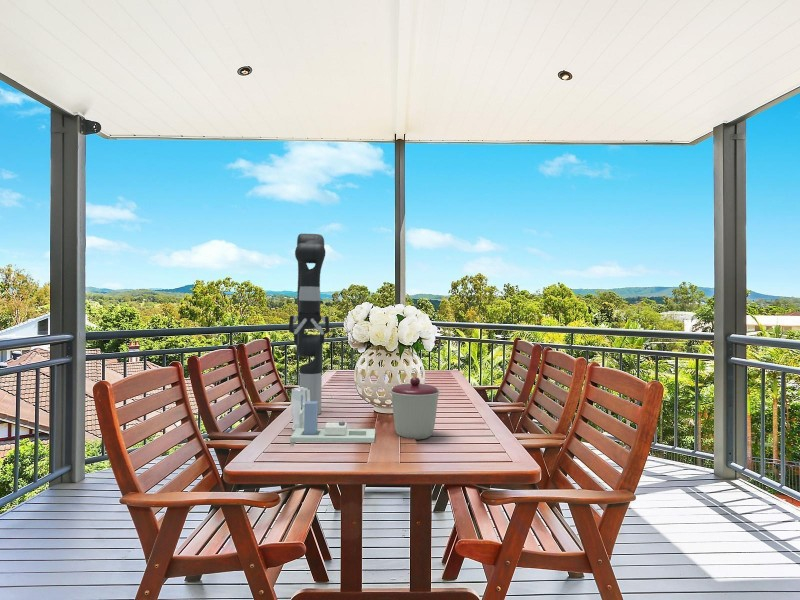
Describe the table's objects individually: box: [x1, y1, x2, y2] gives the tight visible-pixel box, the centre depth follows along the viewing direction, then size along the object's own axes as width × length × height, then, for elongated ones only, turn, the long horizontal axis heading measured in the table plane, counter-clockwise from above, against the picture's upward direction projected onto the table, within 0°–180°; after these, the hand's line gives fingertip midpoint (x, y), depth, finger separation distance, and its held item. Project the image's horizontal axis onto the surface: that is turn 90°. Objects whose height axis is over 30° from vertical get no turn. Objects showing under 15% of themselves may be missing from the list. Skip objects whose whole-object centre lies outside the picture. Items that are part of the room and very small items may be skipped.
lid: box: [324, 421, 348, 435], centre depth 182 cm, size 7×7×3 cm
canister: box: [389, 377, 441, 441], centre depth 189 cm, size 18×18×21 cm
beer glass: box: [290, 386, 310, 431], centre depth 196 cm, size 7×7×15 cm
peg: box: [304, 401, 319, 435], centre depth 182 cm, size 4×4×12 cm
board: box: [289, 428, 376, 445], centre depth 182 cm, size 12×28×2 cm, turn 92°
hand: (309, 344), depth 188 cm, fingers open, 8 cm apart
